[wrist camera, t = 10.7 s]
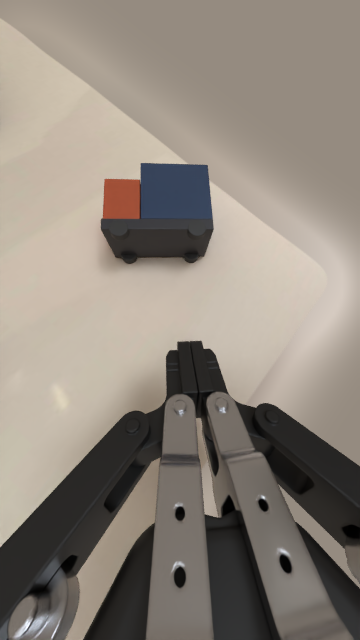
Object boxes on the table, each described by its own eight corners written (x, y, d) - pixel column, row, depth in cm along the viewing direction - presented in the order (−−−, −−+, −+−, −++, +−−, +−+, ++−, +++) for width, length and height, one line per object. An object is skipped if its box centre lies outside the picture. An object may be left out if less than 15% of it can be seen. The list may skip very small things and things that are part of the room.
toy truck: (204, 262, 23) (199, 203, 24) (214, 235, 18) (207, 163, 19) (115, 263, 22) (117, 202, 24) (99, 235, 17) (103, 160, 19)
